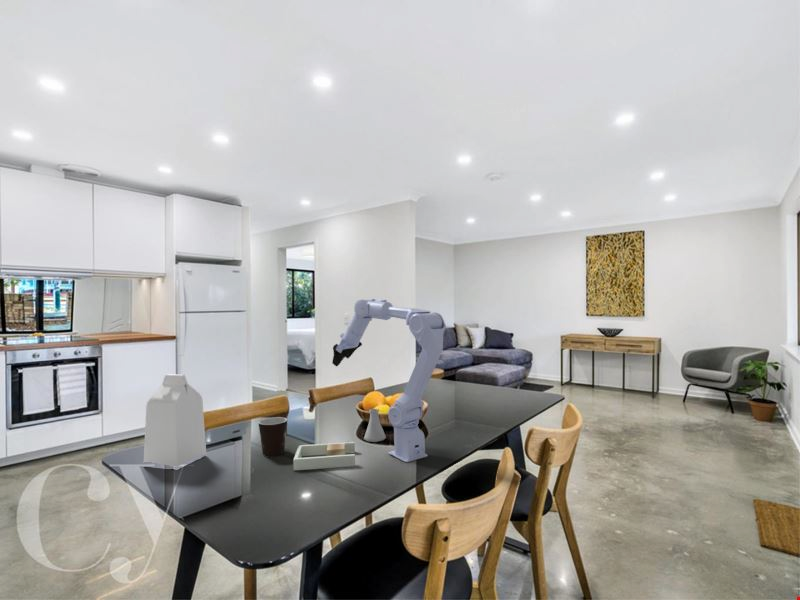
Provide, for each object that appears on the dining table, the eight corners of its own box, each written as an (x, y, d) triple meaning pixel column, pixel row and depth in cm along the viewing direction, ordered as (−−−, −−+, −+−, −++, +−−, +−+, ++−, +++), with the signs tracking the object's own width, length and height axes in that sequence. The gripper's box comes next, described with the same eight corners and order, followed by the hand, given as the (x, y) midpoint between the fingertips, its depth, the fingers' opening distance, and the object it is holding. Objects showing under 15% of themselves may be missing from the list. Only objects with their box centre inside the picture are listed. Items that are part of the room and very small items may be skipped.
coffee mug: (279, 458, 122) (278, 425, 122) (253, 457, 123) (252, 424, 124) (296, 445, 133) (296, 415, 133) (272, 444, 135) (272, 414, 135)
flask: (376, 444, 133) (375, 413, 133) (359, 440, 137) (359, 410, 138) (389, 438, 139) (389, 408, 139) (373, 434, 143) (373, 406, 143)
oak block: (344, 456, 122) (344, 443, 123) (344, 462, 117) (344, 448, 118) (328, 457, 122) (327, 444, 122) (327, 464, 117) (326, 450, 117)
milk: (206, 456, 126) (205, 372, 126) (176, 470, 114) (175, 378, 115) (175, 453, 129) (174, 371, 129) (143, 467, 118) (142, 377, 118)
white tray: (354, 451, 126) (354, 441, 126) (355, 466, 114) (354, 455, 114) (298, 455, 124) (298, 445, 124) (293, 470, 112) (293, 459, 112)
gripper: (356, 318, 145) (342, 347, 150) (335, 329, 131) (320, 361, 137) (372, 329, 143) (357, 358, 148) (352, 341, 130) (336, 373, 135)
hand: (340, 360), depth 142 cm, fingers open, 7 cm apart
